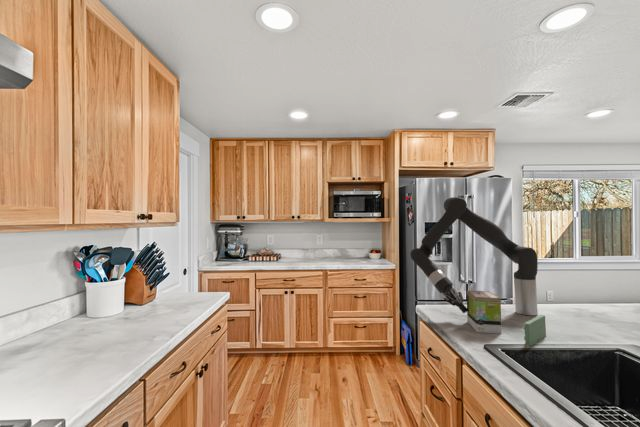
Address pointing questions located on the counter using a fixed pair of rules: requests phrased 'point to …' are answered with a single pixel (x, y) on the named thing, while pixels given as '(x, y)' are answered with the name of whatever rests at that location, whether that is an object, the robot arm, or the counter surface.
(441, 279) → the robot arm
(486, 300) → the tea box
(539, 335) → the bracket
